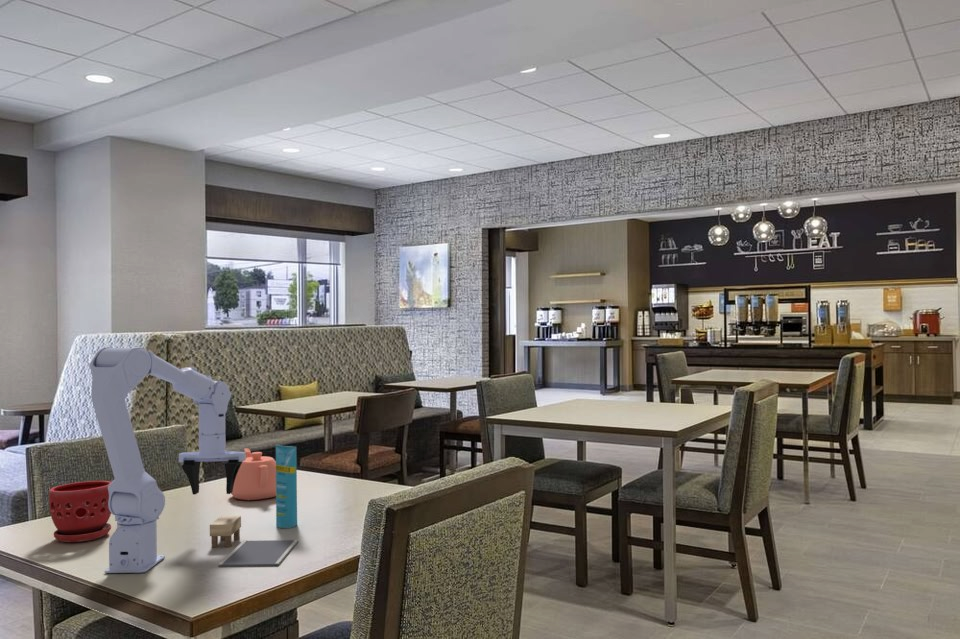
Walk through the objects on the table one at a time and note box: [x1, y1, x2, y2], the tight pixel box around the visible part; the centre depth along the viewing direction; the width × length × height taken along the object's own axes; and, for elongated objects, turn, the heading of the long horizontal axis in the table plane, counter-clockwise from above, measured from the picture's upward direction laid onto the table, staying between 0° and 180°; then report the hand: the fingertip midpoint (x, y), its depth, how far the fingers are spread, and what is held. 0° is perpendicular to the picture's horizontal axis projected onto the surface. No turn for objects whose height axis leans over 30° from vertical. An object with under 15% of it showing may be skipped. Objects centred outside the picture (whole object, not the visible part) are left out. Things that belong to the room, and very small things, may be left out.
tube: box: [275, 444, 298, 529], centre depth 175 cm, size 7×5×19 cm, turn 60°
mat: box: [217, 539, 299, 568], centre depth 154 cm, size 16×12×1 cm
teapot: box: [230, 447, 276, 501], centre depth 207 cm, size 22×15×12 cm
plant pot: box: [48, 480, 112, 543], centre depth 168 cm, size 13×13×12 cm
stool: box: [209, 515, 242, 548], centre depth 162 cm, size 7×4×5 cm, turn 0°
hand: (212, 493), depth 167 cm, fingers open, 7 cm apart
